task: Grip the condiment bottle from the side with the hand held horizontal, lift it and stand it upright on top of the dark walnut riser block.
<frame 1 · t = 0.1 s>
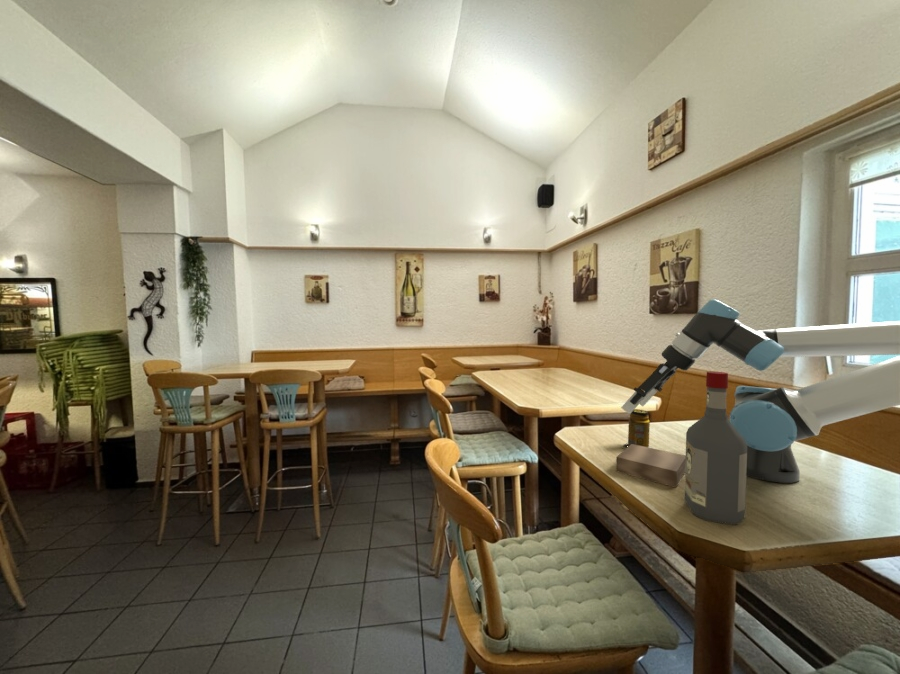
hand: (632, 406, 105), 15 cm above the table, tool tilted 35°, fingers open, 13 cm apart
liquor: (712, 513, 75), on the table
condiment: (636, 448, 114), on the table
riser: (651, 470, 96), on the table
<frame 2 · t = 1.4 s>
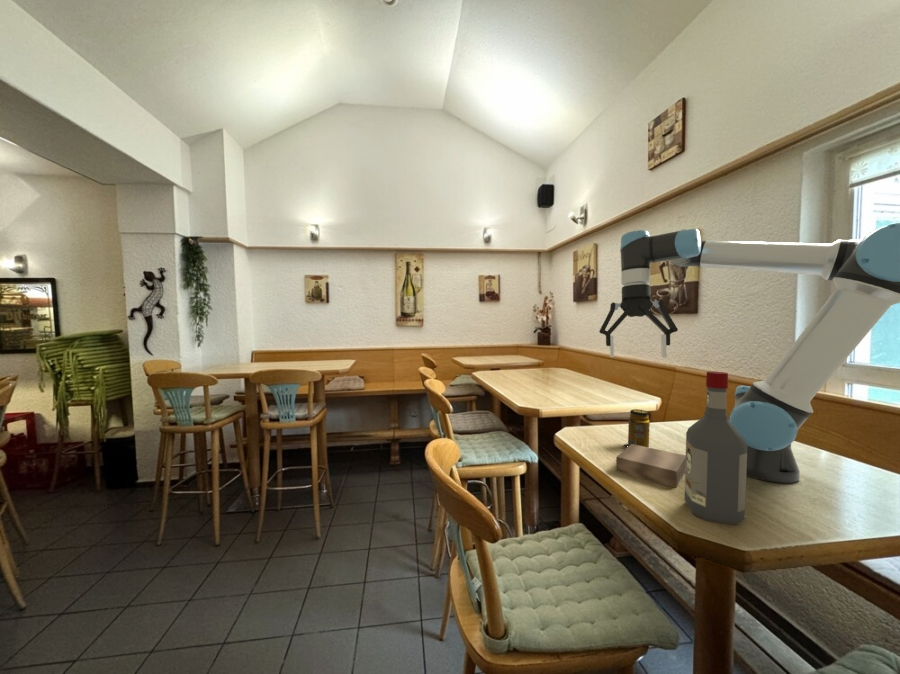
hand: (637, 357, 103), 30 cm above the table, tool pointing down, fingers open, 13 cm apart
nothing on the table moved.
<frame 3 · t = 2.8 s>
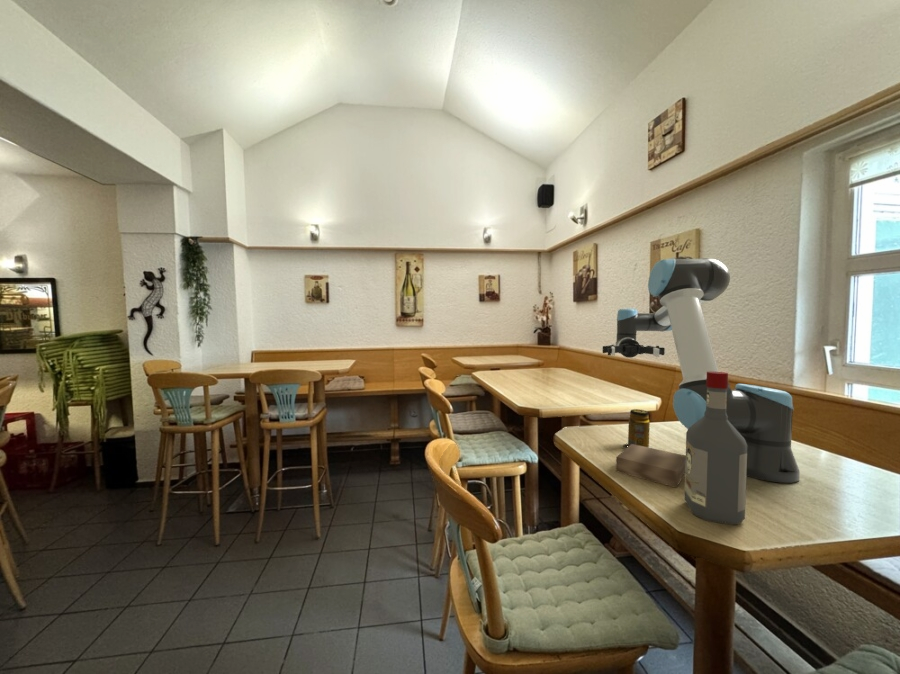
hand: (635, 352, 121), 30 cm above the table, tool horizontal, fingers open, 13 cm apart
nothing on the table moved.
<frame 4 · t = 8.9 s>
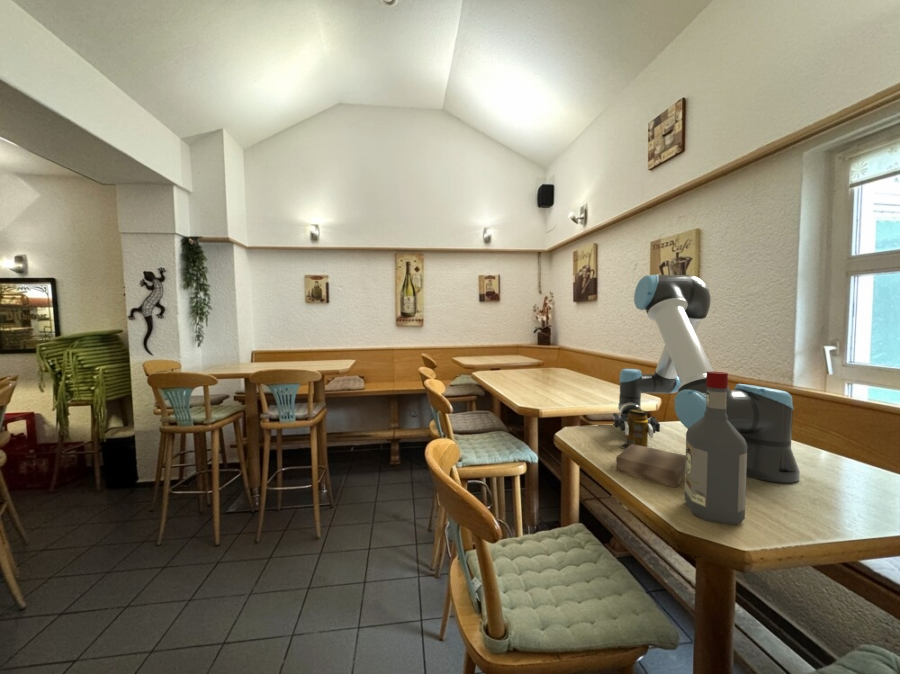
hand: (639, 432, 109), 7 cm above the table, tool horizontal, fingers closed on condiment, 6 cm apart
condiment: (635, 448, 114), on the table, touching gripper
everything else where it was.
when the fingers open (12 cm above the table, at t = 15.1 s): condiment drops 1 cm, resting on riser.
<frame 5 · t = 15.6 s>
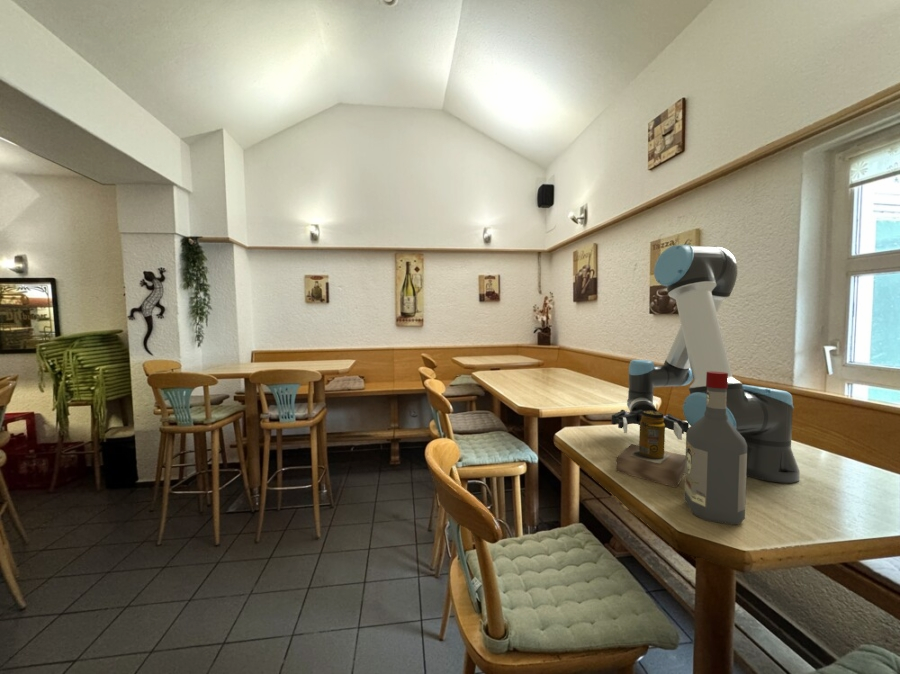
hand: (652, 431, 92), 12 cm above the table, tool horizontal, fingers open, 12 cm apart
condiment: (649, 456, 96), point 4 cm above the table, touching riser
everything else where it was.
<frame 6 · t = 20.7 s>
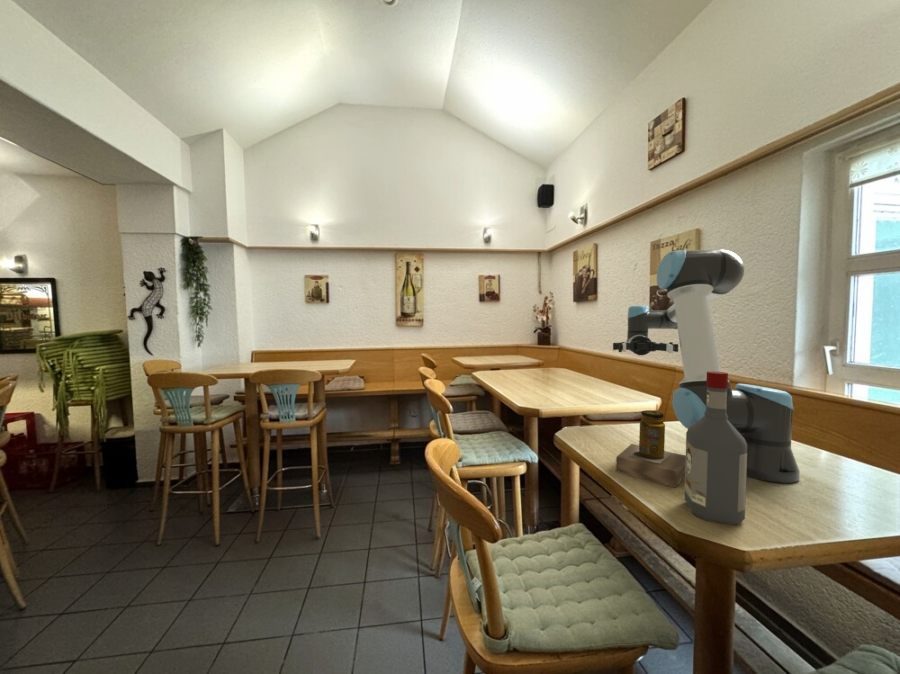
hand: (647, 348, 116), 32 cm above the table, tool horizontal, fingers open, 13 cm apart
nothing on the table moved.
at the end: condiment inside the target area on the riser (0.4 cm from its centre), point 3.8 cm above the riser's base; condiment tilted 0°; the gripper is holding nothing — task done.
